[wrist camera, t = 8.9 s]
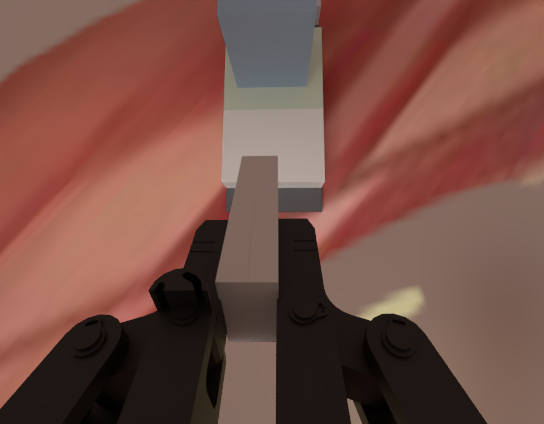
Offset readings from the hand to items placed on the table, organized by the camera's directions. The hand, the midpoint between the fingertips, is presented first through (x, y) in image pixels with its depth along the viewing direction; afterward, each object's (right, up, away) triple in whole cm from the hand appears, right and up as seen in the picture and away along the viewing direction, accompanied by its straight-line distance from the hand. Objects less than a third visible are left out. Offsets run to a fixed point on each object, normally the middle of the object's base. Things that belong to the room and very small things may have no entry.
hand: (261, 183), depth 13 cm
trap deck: (+1, +10, +19) cm, 21 cm away
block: (+1, +14, +17) cm, 22 cm away
